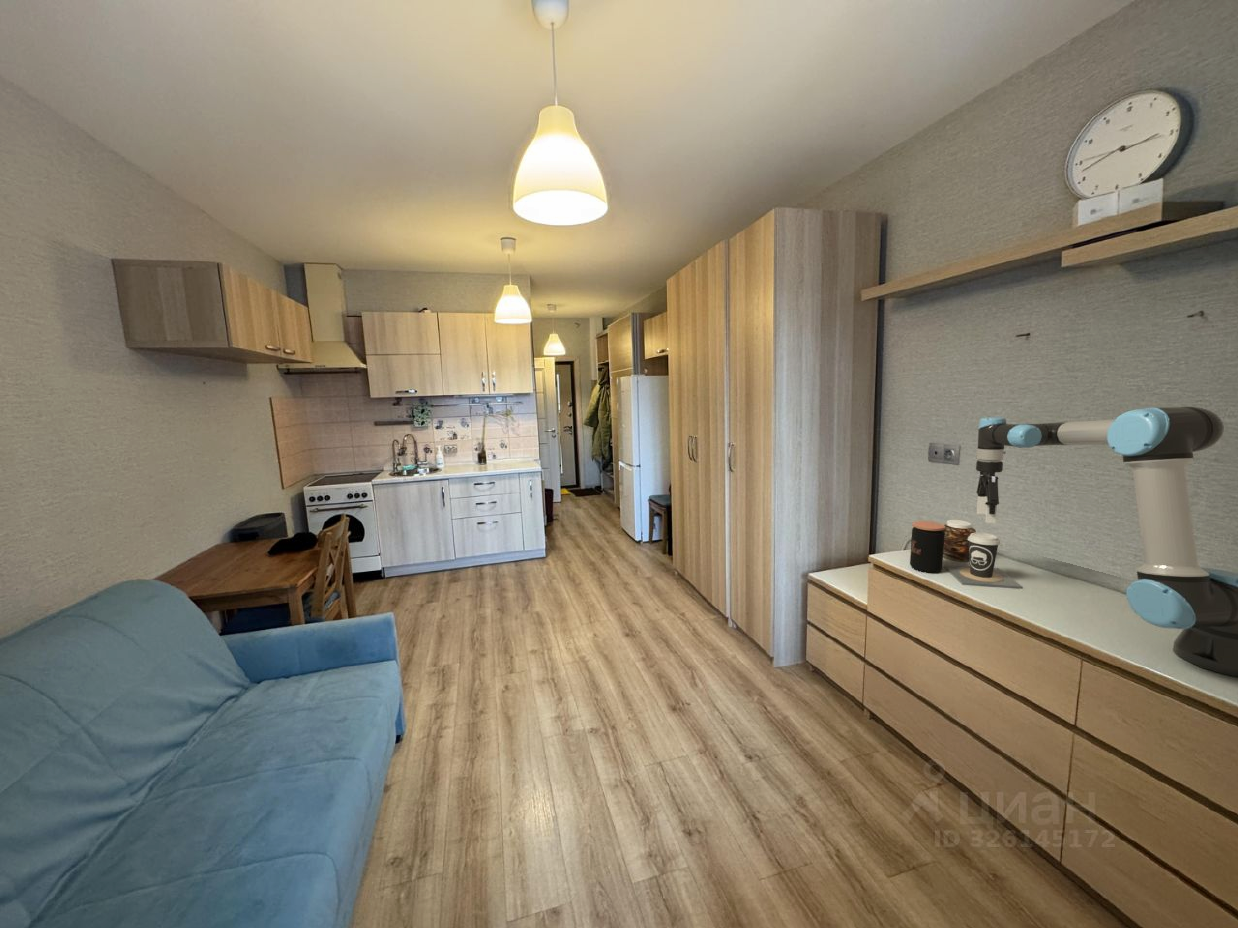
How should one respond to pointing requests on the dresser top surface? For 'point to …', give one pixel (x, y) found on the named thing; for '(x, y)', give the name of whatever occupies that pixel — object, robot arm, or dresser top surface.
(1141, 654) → the dresser top surface
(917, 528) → the coffee jar
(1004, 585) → the trivet
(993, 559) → the coffee cup
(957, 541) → the jar
